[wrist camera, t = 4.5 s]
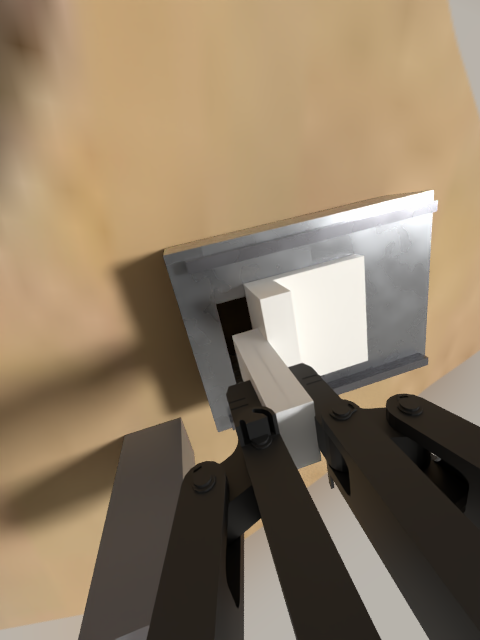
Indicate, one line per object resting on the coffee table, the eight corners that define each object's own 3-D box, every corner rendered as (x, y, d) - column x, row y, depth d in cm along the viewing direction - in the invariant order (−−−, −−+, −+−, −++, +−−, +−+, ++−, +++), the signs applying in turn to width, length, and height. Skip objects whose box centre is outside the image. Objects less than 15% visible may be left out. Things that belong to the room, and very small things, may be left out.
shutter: (264, 385, 18) (282, 418, 15) (243, 283, 16) (259, 299, 12) (360, 355, 19) (395, 380, 16) (355, 254, 16) (396, 261, 13)
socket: (210, 397, 22) (219, 440, 18) (165, 248, 18) (162, 257, 13) (386, 341, 24) (433, 368, 20) (385, 195, 20) (445, 188, 15)
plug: (141, 471, 23) (99, 800, 10) (124, 435, 22) (48, 768, 9) (194, 453, 24) (218, 742, 11) (180, 417, 22) (190, 703, 9)
